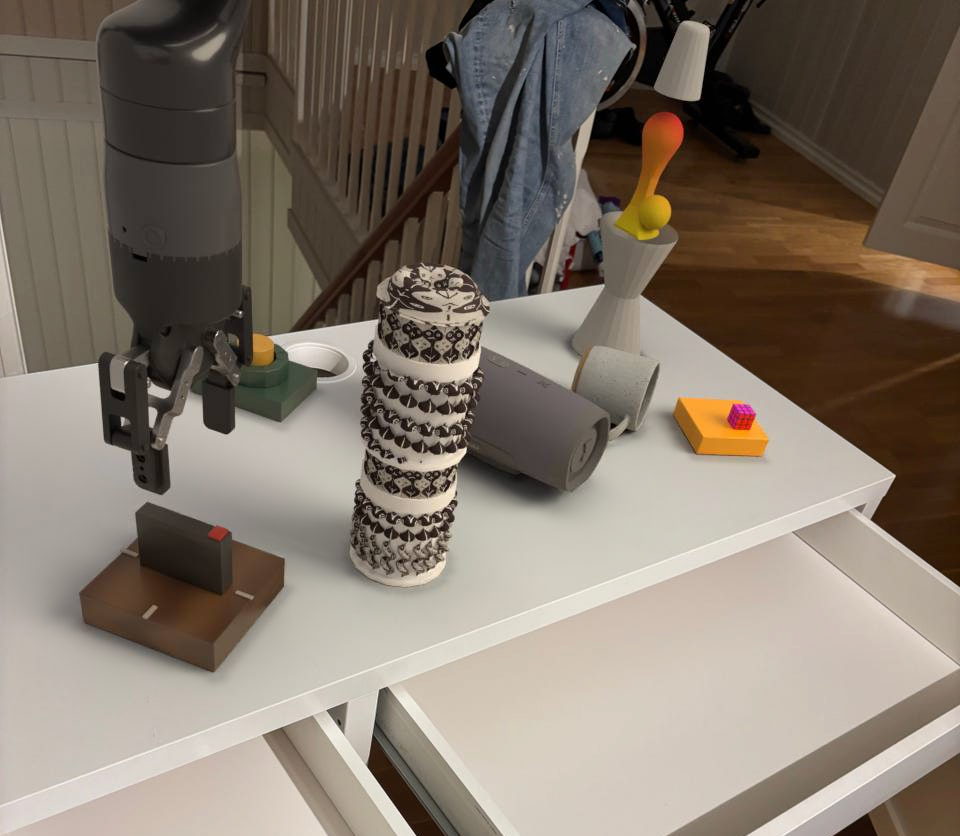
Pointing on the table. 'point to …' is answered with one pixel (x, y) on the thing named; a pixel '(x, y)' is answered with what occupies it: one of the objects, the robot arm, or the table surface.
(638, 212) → the lava lamp
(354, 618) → the table surface
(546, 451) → the bluetooth speaker
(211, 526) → the rotary switch knob
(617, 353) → the ceramic mug
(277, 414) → the button block
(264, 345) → the button
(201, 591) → the rotary knob block
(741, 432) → the orange square block
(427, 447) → the patterned cylindrical tower
